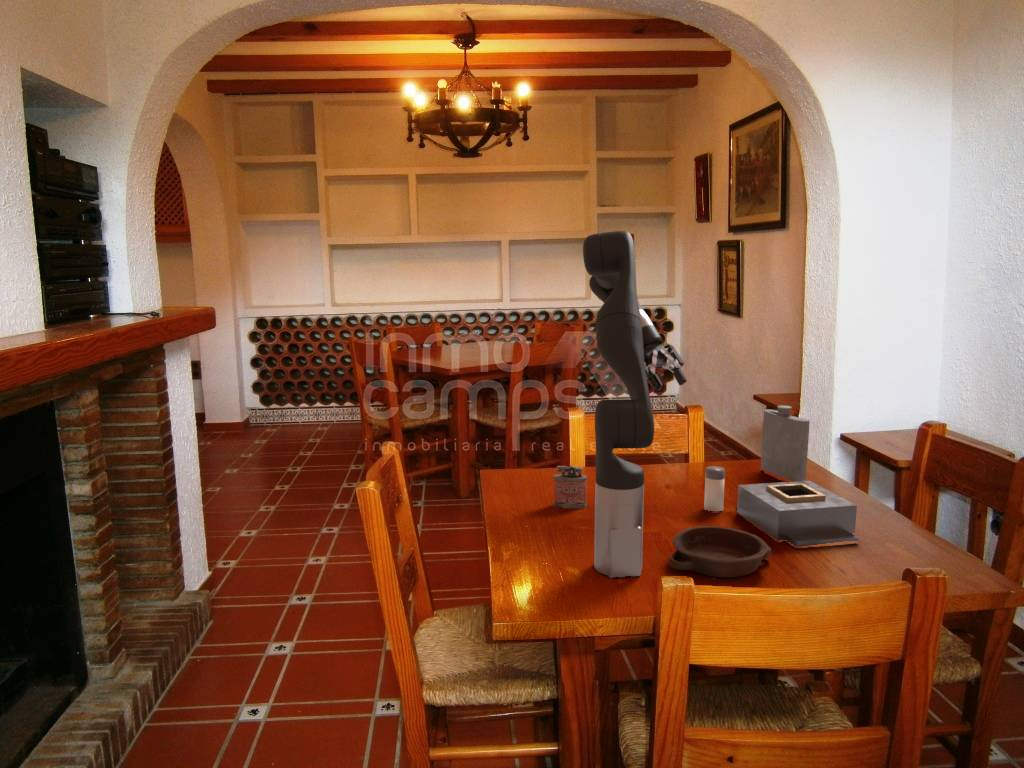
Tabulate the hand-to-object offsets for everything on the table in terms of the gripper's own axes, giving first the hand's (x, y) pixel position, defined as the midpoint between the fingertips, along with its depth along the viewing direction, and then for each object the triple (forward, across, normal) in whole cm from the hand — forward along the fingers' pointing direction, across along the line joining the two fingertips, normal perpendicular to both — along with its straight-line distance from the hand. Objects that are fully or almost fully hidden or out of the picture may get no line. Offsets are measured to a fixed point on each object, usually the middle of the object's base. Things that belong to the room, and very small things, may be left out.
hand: (672, 386), depth 180 cm
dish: (+42, -25, -8) cm, 50 cm away
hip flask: (+28, +35, +13) cm, 47 cm away
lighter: (+14, -25, +26) cm, 38 cm away
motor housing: (+41, +6, -5) cm, 42 cm away
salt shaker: (+30, 0, +8) cm, 31 cm away
